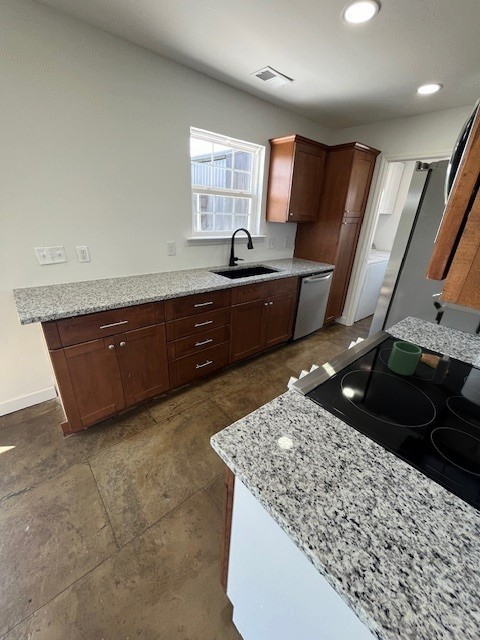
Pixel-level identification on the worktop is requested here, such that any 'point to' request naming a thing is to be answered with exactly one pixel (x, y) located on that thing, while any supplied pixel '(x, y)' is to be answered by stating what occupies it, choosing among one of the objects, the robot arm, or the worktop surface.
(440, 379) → the dark bottle
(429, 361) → the shard
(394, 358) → the green cup
